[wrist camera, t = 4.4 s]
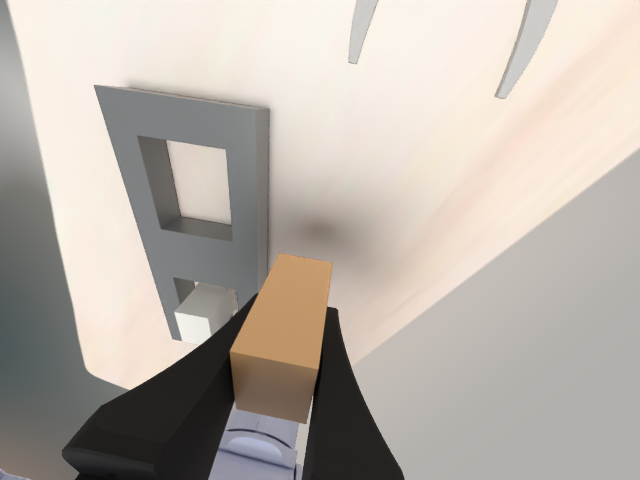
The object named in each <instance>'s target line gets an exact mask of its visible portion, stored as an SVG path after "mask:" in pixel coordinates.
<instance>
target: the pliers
mask: <svg viewBox="0 0 640 480" xmlns="http://www.w3.org/2000/svg"><path fill="white" fill-rule="evenodd" d="M377 2H378V0H357V3H356V7H355V12H354V16H353V23H352V30H351V38H350V49H349V63H353V64H357V60H358V57H359V54H360V51H361V47H362V44H363V41H364V38H365V35H366V32H367V30H368V27H369V24H370V21H371V18H372V16H373V13H374V10H375V7H376V4H377ZM557 2H558V0H527V4H526V8H525V12H524V16H523V19H522V23H521V26H520V30H519V33H518V37H517V40H516V42H515V45H514V48H513V51H512V54H511V56H510V59H509V62H508V64H507V67H506V70H505V72H504V75H503V78H502V80H501V82H500V85H499V87H498V89H497V92H496V94H495V97H498V98H502V99H504V98H506V97H507V96H508V94H509V93H510V91H511V90H512V89H513V87H514V86H515V84H516V83H517V81H518V80H519V78H520V77H521V75H522V74H523V72H524V70H525V69H526V67H527V65H528V64H529V62H530V61H531V59H532V57H533V55H534V53H535V51H536V49H537V47H538V46H539V44H540V42H541V40H542V38H543V36H544V34H545V31H546V29H547V27H548V24H549V22H550V20H551V17H552V15H553V13H554V10H555V8H556V5H557Z"/></svg>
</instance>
